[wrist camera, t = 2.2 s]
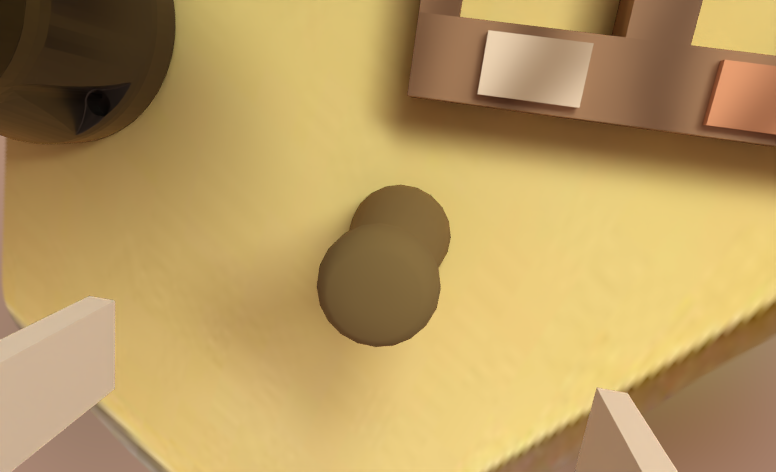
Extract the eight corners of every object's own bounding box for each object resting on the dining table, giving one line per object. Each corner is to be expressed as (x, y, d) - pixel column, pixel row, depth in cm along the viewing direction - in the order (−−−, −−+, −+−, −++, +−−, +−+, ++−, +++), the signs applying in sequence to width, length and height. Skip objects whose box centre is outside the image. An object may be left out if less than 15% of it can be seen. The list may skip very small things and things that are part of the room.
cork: (387, 300, 31) (355, 394, 21) (331, 221, 31) (267, 276, 20) (470, 249, 30) (481, 322, 19) (413, 164, 29) (392, 192, 19)
